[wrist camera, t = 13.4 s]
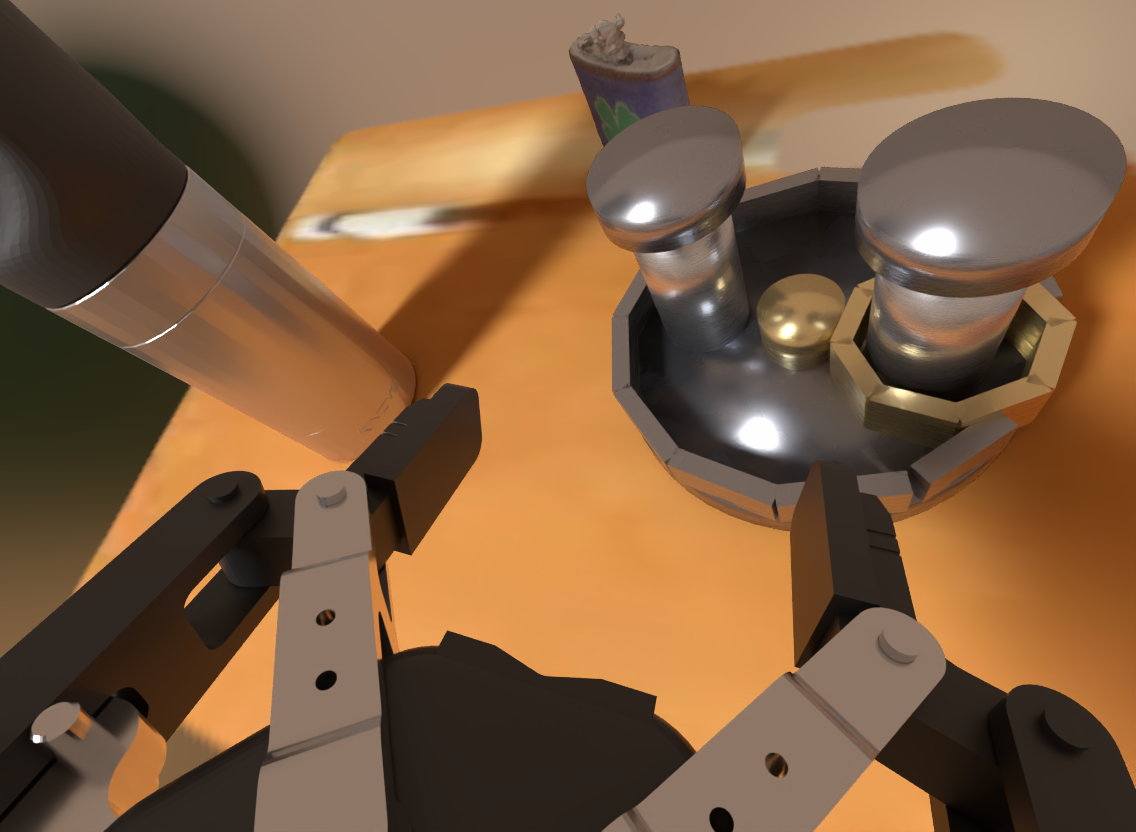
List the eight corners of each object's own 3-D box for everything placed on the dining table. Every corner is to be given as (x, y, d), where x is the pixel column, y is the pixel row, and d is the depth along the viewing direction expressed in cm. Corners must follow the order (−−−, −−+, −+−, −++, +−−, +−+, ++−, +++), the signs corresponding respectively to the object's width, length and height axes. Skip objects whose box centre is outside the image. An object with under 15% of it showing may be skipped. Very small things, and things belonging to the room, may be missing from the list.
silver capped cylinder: (821, 401, 24) (826, 235, 16) (871, 297, 25) (899, 97, 17) (982, 448, 21) (1091, 271, 13) (1029, 326, 22) (1153, 97, 14)
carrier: (578, 451, 30) (463, 325, 21) (714, 213, 35) (670, 17, 25) (960, 613, 20) (1080, 512, 11) (1084, 249, 25) (1247, -55, 15)
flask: (716, 180, 36) (680, 10, 27) (686, 210, 36) (640, 48, 27) (627, 146, 42) (574, -4, 33) (600, 172, 41) (540, 28, 33)
